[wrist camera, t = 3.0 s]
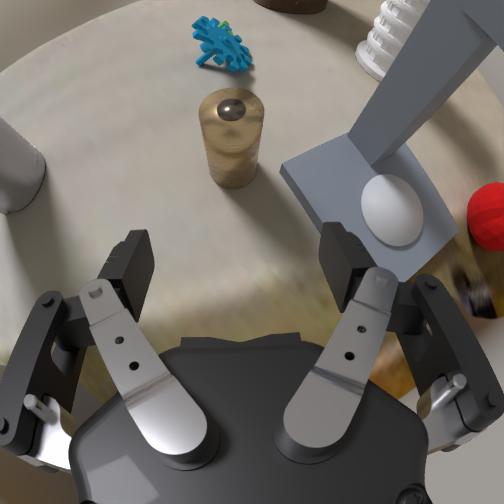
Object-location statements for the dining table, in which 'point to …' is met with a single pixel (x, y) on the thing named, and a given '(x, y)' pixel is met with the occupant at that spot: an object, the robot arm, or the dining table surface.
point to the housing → (232, 135)
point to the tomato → (487, 216)
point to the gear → (220, 44)
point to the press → (398, 142)
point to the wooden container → (295, 5)
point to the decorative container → (389, 35)
